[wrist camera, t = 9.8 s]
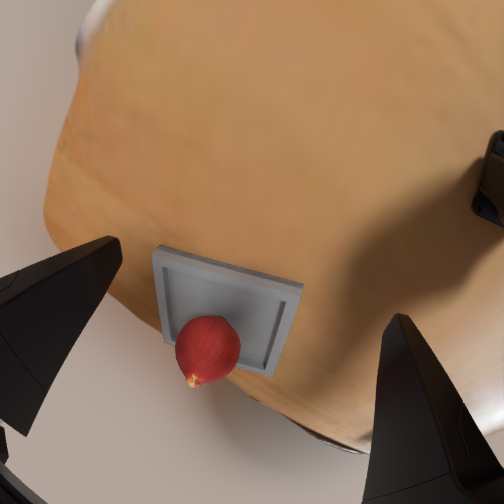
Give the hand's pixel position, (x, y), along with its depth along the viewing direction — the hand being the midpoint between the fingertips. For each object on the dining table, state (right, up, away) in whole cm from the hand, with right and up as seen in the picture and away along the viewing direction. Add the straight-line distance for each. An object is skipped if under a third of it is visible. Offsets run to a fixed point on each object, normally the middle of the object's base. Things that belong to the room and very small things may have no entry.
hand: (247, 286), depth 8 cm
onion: (-3, -5, +19) cm, 20 cm away
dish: (-3, -5, +20) cm, 20 cm away
